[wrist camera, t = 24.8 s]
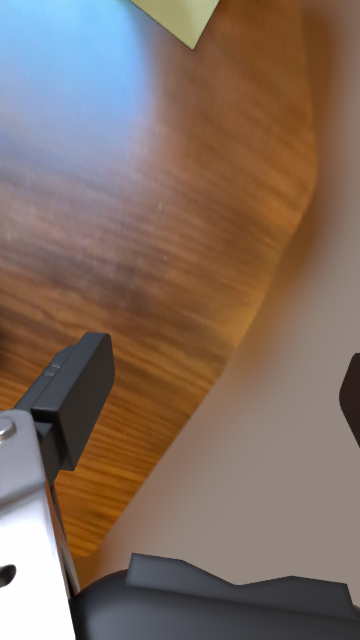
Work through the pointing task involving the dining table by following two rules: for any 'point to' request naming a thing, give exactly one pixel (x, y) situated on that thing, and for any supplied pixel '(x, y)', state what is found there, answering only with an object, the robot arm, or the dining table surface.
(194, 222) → the dining table surface
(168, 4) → the edge strip
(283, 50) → the dining table surface
